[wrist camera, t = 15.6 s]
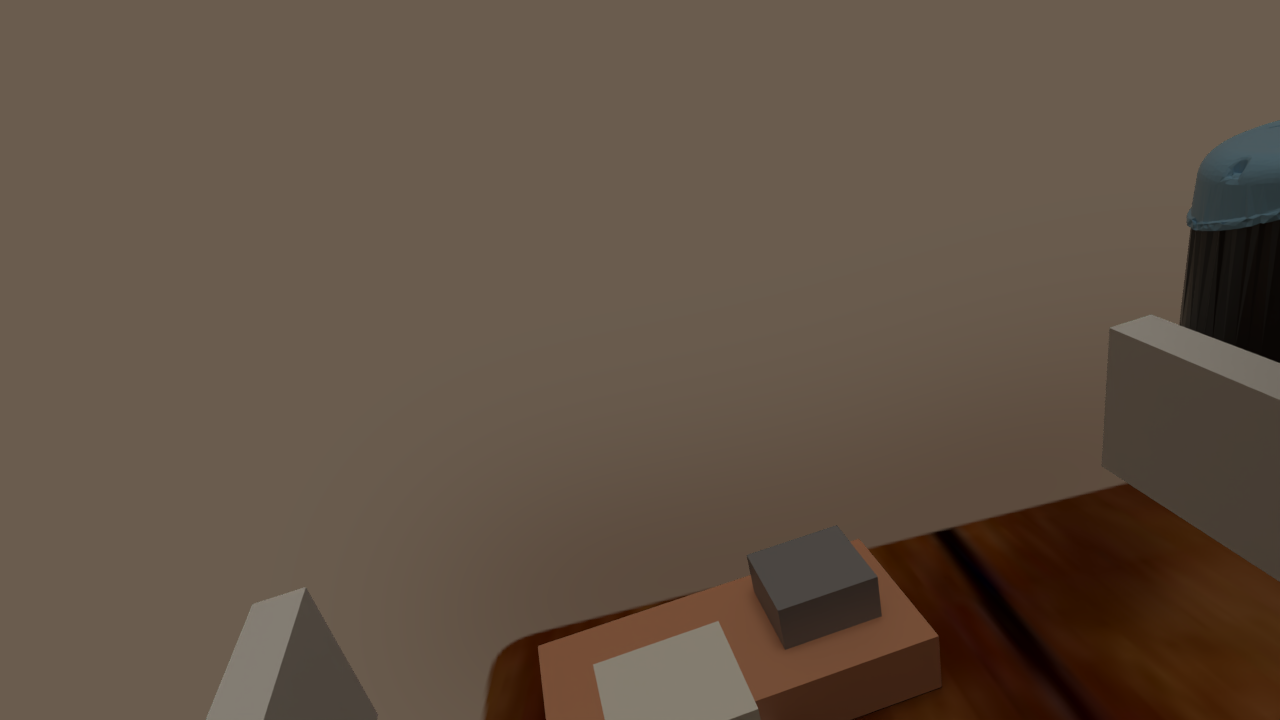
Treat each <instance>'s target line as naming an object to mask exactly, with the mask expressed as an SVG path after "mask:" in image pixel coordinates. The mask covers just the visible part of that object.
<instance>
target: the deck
mask: <svg viewBox="0 0 1280 720" xmlns="http://www.w3.org/2000/svg"><path fill="white" fill-rule="evenodd" d="M747 559H748V563H749V569H750V574H751V575H749V576H746V577H743V578H740V579H737V580H734V581H731V582H728V583H725V584H722V585H719V586H717V587H713V588H710V589H707V590H704V591H701V592H698V593H695V594H692V595H689V596H686V597H683V598H680V599H677V600H674V601H671V602H668V603H665V604H662V605H659V606H656V607H653V608H650V609H647V610H644V611H642V612H639V613H636V614H633V615H630V616H627V617H624V618H621V619H618V620H615V621H612V622H609V623H606V624H603V625H600V626H597V627H594V628H591V629H588V630H585V631H582V632H579V633H576V634H573V635H570V636H567V637H564V638H561V639H558V640H555V641H552V642H549V643H546V644H543V645H540V646H538V651H539V660H540V669H541V678H542V687H543V697H544V706H545V715H546V720H605V719H604V714H603V709H602V705H601V700H600V695H599V691H598V686H597V681H596V676H595V672H594V667H593V664H596V663H599V662H602V661H605V660H608V659H610V658H613V657H616V656H619V655H622V654H625V653H628V652H631V651H633V650H636V649H639V648H642V647H645V646H648V645H651V644H653V643H656V642H659V641H662V640H665V639H668V638H671V637H674V636H676V635H679V634H682V633H685V632H688V631H691V630H694V629H697V628H699V627H702V626H705V625H708V624H711V623H714V622H717V621H719V623H720V626H721V628H722V630H723V632H724V634H725V637H726V639H727V641H728V643H729V645H730V648H731V650H732V652H733V654H734V656H735V659H736V661H737V663H738V665H739V667H740V670H741V672H742V674H743V676H744V678H745V681H746V683H747V685H748V687H749V689H750V691H751V694H752V696H753V698H754V700H755V702H756V705H757V707H758V709H759V714H760V718H761V720H852V719H855V718H857V717H860V716H863V715H866V714H868V713H871V712H874V711H877V710H879V709H882V708H885V707H888V706H890V705H893V704H896V703H899V702H901V701H904V700H907V699H910V698H912V697H915V696H918V695H921V694H923V693H926V692H929V691H932V690H934V689H937V688H940V687H942V683H941V667H940V650H939V636H938V635H937V633H936V632H935V631H934V630H933V629H932V627H931V626H930V625H929V624H928V622H927V621H926V620H925V619H924V618H923V616H922V615H921V614H920V613H919V611H918V610H917V609H916V608H915V607H914V605H913V604H912V603H911V602H910V600H909V599H908V598H907V597H906V596H905V594H904V593H903V592H902V591H901V589H900V588H899V587H898V586H897V585H896V583H895V582H894V581H893V580H892V578H891V577H890V576H889V575H888V573H887V572H886V571H885V570H884V569H883V567H882V566H881V565H880V564H879V562H878V561H877V560H876V559H875V558H874V556H873V555H872V554H871V553H870V551H869V550H868V549H867V548H866V547H865V545H864V544H863V543H862V542H861V540H860V539H856V540H853V541H851V542H850V541H849V540H848V539H847V537H846V536H845V535H844V534H843V532H842V531H841V530H840V529H839V527H838V526H837V525H836V526H833V527H830V528H827V529H824V530H821V531H818V532H815V533H812V534H809V535H806V536H803V537H800V538H797V539H794V540H791V541H788V542H785V543H782V544H779V545H776V546H773V547H770V548H767V549H764V550H761V551H758V552H755V553H752V554H749V555H747Z"/></svg>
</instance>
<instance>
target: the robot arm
mask: <svg viewBox="0 0 1280 720" xmlns="http://www.w3.org/2000/svg"><path fill="white" fill-rule="evenodd" d="M1187 225H1188V226H1189V227H1191V230H1190V238H1189V248H1188V255H1187V263H1186V272H1185V280H1184V289H1183V297H1182V305H1181V314H1180V325H1177V324H1175V323H1172V322H1170V321H1167V320H1164V319H1161V318H1159V317H1156V316H1154V315H1148V316H1145V317H1142V318H1139V319H1136V320H1133V321H1129V322H1126V323H1123V324H1120V325H1117V326H1114V327H1111V328H1110V330H1109V348H1108V366H1107V383H1106V400H1105V418H1104V434H1103V435H1104V436H1103V452H1102V467H1104V468H1106V469H1107V470H1109V471H1110V472H1112V473H1113V474H1115V475H1116V476H1118V477H1119V478H1121V479H1123V480H1124V481H1126V482H1127V483H1129V484H1130V485H1132V486H1133V487H1135V488H1136V489H1138V490H1139V491H1141V492H1142V493H1144V494H1146V495H1147V496H1149V497H1150V498H1152V499H1153V500H1155V501H1156V502H1158V503H1159V504H1161V505H1163V506H1164V507H1166V508H1167V509H1169V510H1170V511H1172V512H1173V513H1175V514H1176V515H1178V516H1179V517H1181V518H1183V519H1184V520H1186V521H1187V522H1189V523H1190V524H1192V525H1193V526H1195V527H1196V528H1198V529H1199V530H1201V531H1203V532H1204V533H1206V534H1207V535H1209V536H1210V537H1212V538H1213V539H1215V540H1216V541H1218V542H1220V543H1221V544H1223V545H1224V546H1226V547H1227V548H1229V549H1230V550H1232V551H1233V552H1235V553H1236V554H1238V555H1240V556H1241V557H1243V558H1244V559H1246V560H1247V561H1249V562H1250V563H1252V564H1253V565H1255V566H1257V567H1258V568H1260V569H1261V570H1263V571H1264V572H1266V573H1267V574H1269V575H1270V576H1272V577H1273V578H1275V579H1277V580H1278V581H1280V120H1279V121H1275V122H1272V123H1268V124H1265V125H1262V126H1259V127H1256V128H1254V129H1251V130H1249V131H1245V132H1243V133H1241V134H1238V135H1236V136H1234V137H1232V138H1230V139H1228V140H1226V141H1224V142H1223V143H1221V144H1220V145H1218V146H1217V147H1216V148H1214V149H1213V150H1212V151H1211V152H1210V153H1209V154H1208V155H1207V156H1206V157H1205V159H1204V160H1203V161H1202V163H1201V165H1200V167H1199V170H1198V173H1197V179H1196V185H1195V191H1194V197H1193V202H1192V207H1191V209H1190V210H1189V212H1188V214H1187ZM377 716H378V714H377V712H376V710H375V709H374V707H373V705H372V703H371V702H370V700H369V698H368V696H367V695H366V693H365V691H364V689H363V687H362V686H361V684H360V682H359V680H358V679H357V677H356V675H355V673H354V671H353V670H352V668H351V666H350V665H349V663H348V661H347V659H346V657H345V656H344V654H343V652H342V650H341V648H340V647H339V645H338V643H337V641H336V640H335V638H334V637H333V634H332V633H331V631H330V629H329V627H328V625H327V624H326V622H325V620H324V618H323V617H322V615H321V613H320V611H319V610H318V608H317V606H316V604H315V602H314V601H313V599H312V597H311V595H310V594H309V592H308V590H307V588H306V587H304V588H301V589H298V590H295V591H292V592H289V593H286V594H282V595H279V596H276V597H273V598H270V599H267V600H264V601H261V602H258V603H255V604H253V605H252V607H251V610H250V612H249V614H248V617H247V619H246V622H245V624H244V627H243V629H242V632H241V634H240V637H239V639H238V642H237V644H236V646H235V649H234V651H233V654H232V656H231V659H230V661H229V664H228V666H227V669H226V671H225V674H224V676H223V679H222V681H221V683H220V686H219V688H218V691H217V694H216V696H215V698H214V701H213V703H212V706H211V708H210V710H209V713H208V715H207V718H206V720H377Z"/></svg>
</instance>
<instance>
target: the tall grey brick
mask: <svg viewBox="0 0 1280 720" xmlns="http://www.w3.org/2000/svg"><path fill="white" fill-rule="evenodd" d="M593 667H594V672H595V676H596V681H597V686H598V691H599V695H600V700H601V705H602V709H603V714H604V719H605V720H761V718H760V714H759V709H758V707H757V705H756V702H755V700H754V698H753V696H752V694H751V691H750V689H749V687H748V685H747V683H746V681H745V678H744V676H743V674H742V672H741V670H740V667H739V665H738V663H737V661H736V659H735V656H734V654H733V652H732V650H731V648H730V645H729V643H728V641H727V639H726V637H725V634H724V632H723V630H722V628H721V626H720V623H719V621H717V622H714V623H711V624H708V625H705V626H702V627H699V628H697V629H694V630H691V631H688V632H685V633H682V634H679V635H676V636H674V637H671V638H668V639H665V640H662V641H659V642H656V643H653V644H651V645H648V646H645V647H642V648H639V649H636V650H633V651H631V652H628V653H625V654H622V655H619V656H616V657H613V658H610V659H608V660H605V661H602V662H599V663H596V664H593Z"/></svg>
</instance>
